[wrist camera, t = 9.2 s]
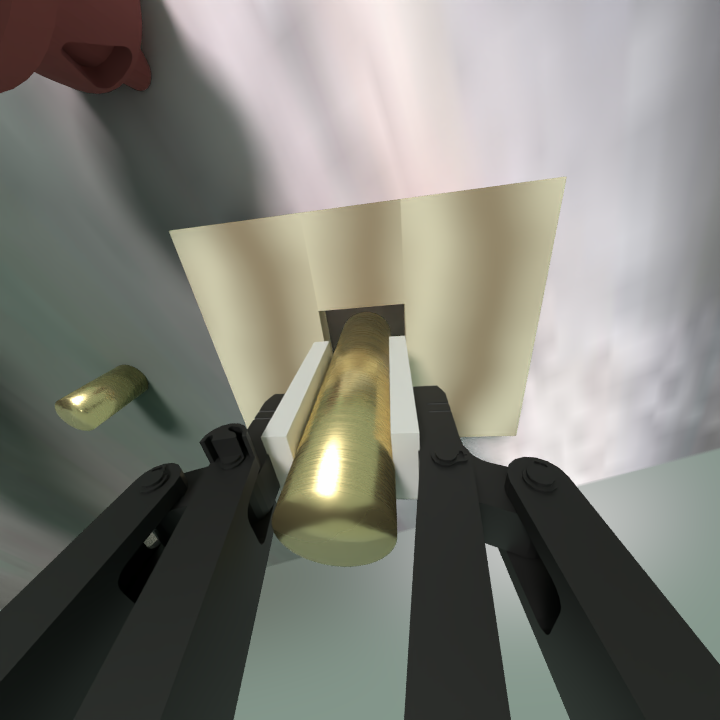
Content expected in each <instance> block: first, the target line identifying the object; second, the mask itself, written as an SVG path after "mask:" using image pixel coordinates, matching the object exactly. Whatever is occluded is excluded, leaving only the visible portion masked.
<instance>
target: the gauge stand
mask: <svg viewBox="0 0 720 720" xmlns="http://www.w3.org/2000/svg"><path fill="white" fill-rule="evenodd" d="M565 183H566V177H559V178H552V179H545V180H537V181H530V182H523V183H515V184H508V185H501V186H493V187H486V188H479V189H471V190H464V191H457V192H449V193H442V194H435V195H427V196H420V197H413V198H405V199H398V200H391V201H383V202H376V203H369V204H361V205H354V206H347V207H339V208H332V209H325V210H317V211H310V212H303V213H295V214H288V215H281V216H273V217H266V218H259V219H251V220H244V221H237V222H229V223H222V224H215V225H207V226H200V227H193V228H185V229H178V230H171V231H169V233H170V235H171V238H172V240H173V243H174V245H175V248H176V250H177V253H178V255H179V258H180V260H181V263H182V265H183V268H184V270H185V273H186V275H187V278H188V280H189V283H190V285H191V288H192V291H193V293H194V296H195V298H196V301H197V303H198V306H199V308H200V311H201V313H202V316H203V318H204V321H205V323H206V326H207V328H208V331H209V333H210V336H211V338H212V341H213V343H214V346H215V348H216V351H217V353H218V356H219V358H220V361H221V363H222V366H223V368H224V371H225V373H226V376H227V378H228V381H229V383H230V386H231V389H232V391H233V394H234V396H235V399H236V401H237V404H238V406H239V409H240V411H241V414H242V416H243V419H244V421H245V424H246V426H247V429H248V427H249V426H250V424H251V423H252V421H253V420H255V416H256V415H257V413H258V412H259V410H260V409H261V407H262V406H263V404H264V403H265V401H267V400H268V399H269V398H270V397H272V396H273V395H274V394H285V393H286V391H287V390H288V388H289V386H290V384H291V382H292V381H293V379H294V377H295V375H296V374H297V372H298V370H299V368H300V366H301V365H302V363H303V361H304V359H305V358H306V356H307V354H308V352H309V350H310V349H311V347H312V345H313V343H314V342H323V341H329V343H330V349H331V354H332V357H333V350H332V345H331V339H330V334H329V328H328V323H327V317H326V310H338V309H349V308H361V307H372V306H384V305H395V304H404V328H405V339H406V345H407V352H408V359H409V366H410V373H411V379H412V386H413V387H415V386H436V385H437V386H438V387H439V388H441V389H442V390H443V391H444V392H445V393H446V396H447V400H448V404H449V406H450V409H451V412H452V415H453V418H454V421H455V424H456V427H457V430H458V433H459V437H486V436H516V433H517V428H518V423H519V418H520V413H521V408H522V402H523V397H524V392H525V387H526V382H527V377H528V372H529V367H530V362H531V356H532V351H533V346H534V341H535V336H536V331H537V326H538V321H539V315H540V310H541V305H542V300H543V295H544V290H545V285H546V280H547V275H548V269H549V264H550V259H551V254H552V249H553V244H554V239H555V234H556V229H557V223H558V218H559V213H560V208H561V203H562V198H563V193H564V188H565Z"/></svg>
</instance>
